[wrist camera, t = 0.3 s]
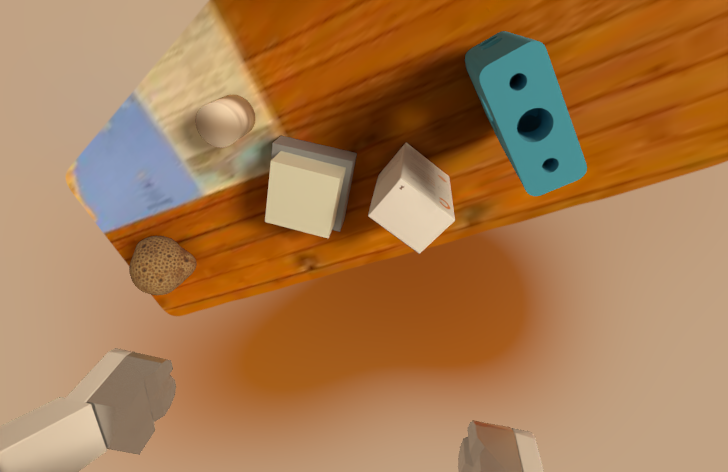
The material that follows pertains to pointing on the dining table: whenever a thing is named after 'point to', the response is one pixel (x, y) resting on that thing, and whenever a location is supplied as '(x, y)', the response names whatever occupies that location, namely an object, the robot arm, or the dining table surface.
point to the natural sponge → (160, 265)
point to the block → (526, 110)
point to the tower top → (303, 193)
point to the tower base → (324, 155)
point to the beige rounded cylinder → (225, 120)
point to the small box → (412, 199)
